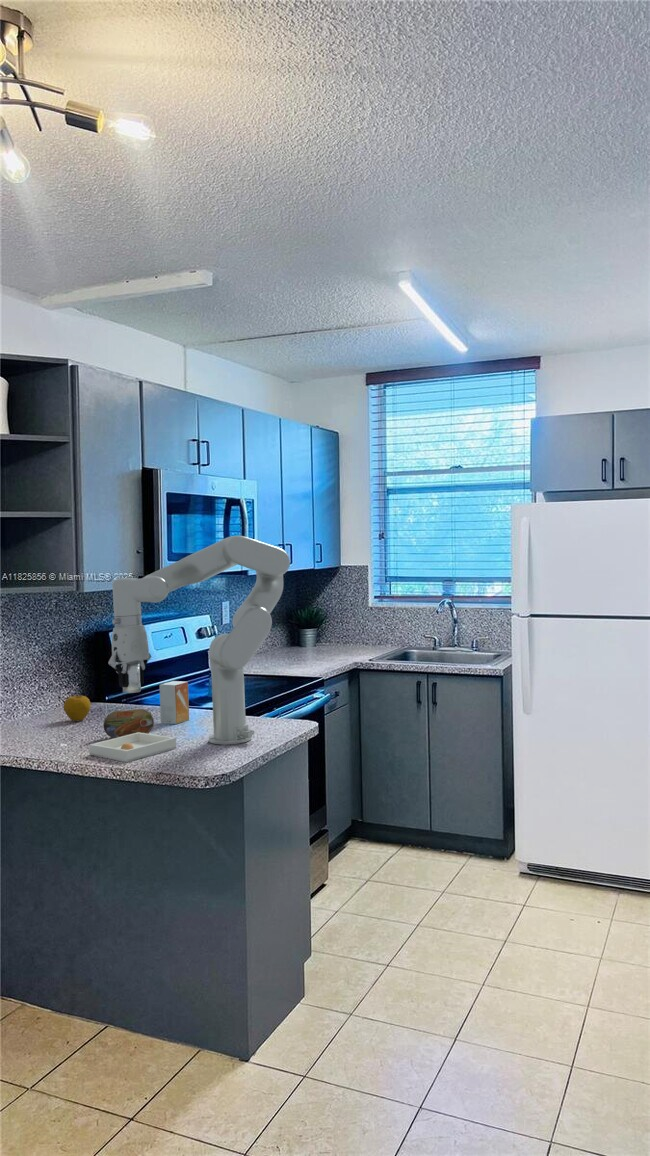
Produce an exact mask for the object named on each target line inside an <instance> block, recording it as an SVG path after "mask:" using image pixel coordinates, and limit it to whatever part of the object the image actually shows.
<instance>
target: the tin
mask: <svg viewBox="0 0 650 1156" xmlns="http://www.w3.org/2000/svg"><path fill="white" fill-rule="evenodd" d="M154 721H155V720H154V716H153V715H152V714H151V712H150V711H148V710H147V709H144V708H137V709H126V710H125V709H124V710H116V711H115V710H114V711H112V712H111V713H108V714H107V715H106V717H105V718H104V720H103V729H104V732H105V734H106V735H107V736H109V737H110V739H114V738H118V737H122V736H126V735H130V734H134V733H138V732H140V733H147V734H151V732H152V730H153V728H154V725H155V724H154Z"/></svg>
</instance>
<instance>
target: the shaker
mask: <svg viewBox="0 0 650 1156" xmlns="http://www.w3.org/2000/svg"><path fill="white" fill-rule="evenodd" d="M121 662H122V661H121ZM126 673H127V674H128V687H126V688H125V687H122V693H123V694H134V693H140V692H141V691H142V684H141V682H140V661H134V662H130V663H127V667H126Z"/></svg>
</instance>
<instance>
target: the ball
mask: <svg viewBox="0 0 650 1156" xmlns="http://www.w3.org/2000/svg"><path fill="white" fill-rule="evenodd" d="M133 748H134V747H133V745H132V744H130V743H125V744H123V745H122V746H121V749H125V750H129V749H133Z"/></svg>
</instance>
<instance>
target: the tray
mask: <svg viewBox="0 0 650 1156" xmlns="http://www.w3.org/2000/svg"><path fill="white" fill-rule="evenodd" d="M125 743H130V744H132V745H133V747H134V748H133V749H129V750H125V749H121V746H122V745H123V744H125ZM88 747H89V756H91V755H94V756H93V757H97V756H98V757H97V758H102V757H103V758H102V759H107V758H108V760H113V761H120V762H124V763H129V762H132V761H137V760H139V759H143V758H148V757H150V756H154V755H157V754H162V753H164V752H168V751H171V750H172V751H173V750H176V749H177V737H172V736H166V735H159V734H153V733H148V734H147V733H140V732H138V733H134V734H130V735H126V736H122V737H118V738H110V739H106V740H102V741H99V742H95V743H94V742H93V743H91V744H88Z"/></svg>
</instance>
